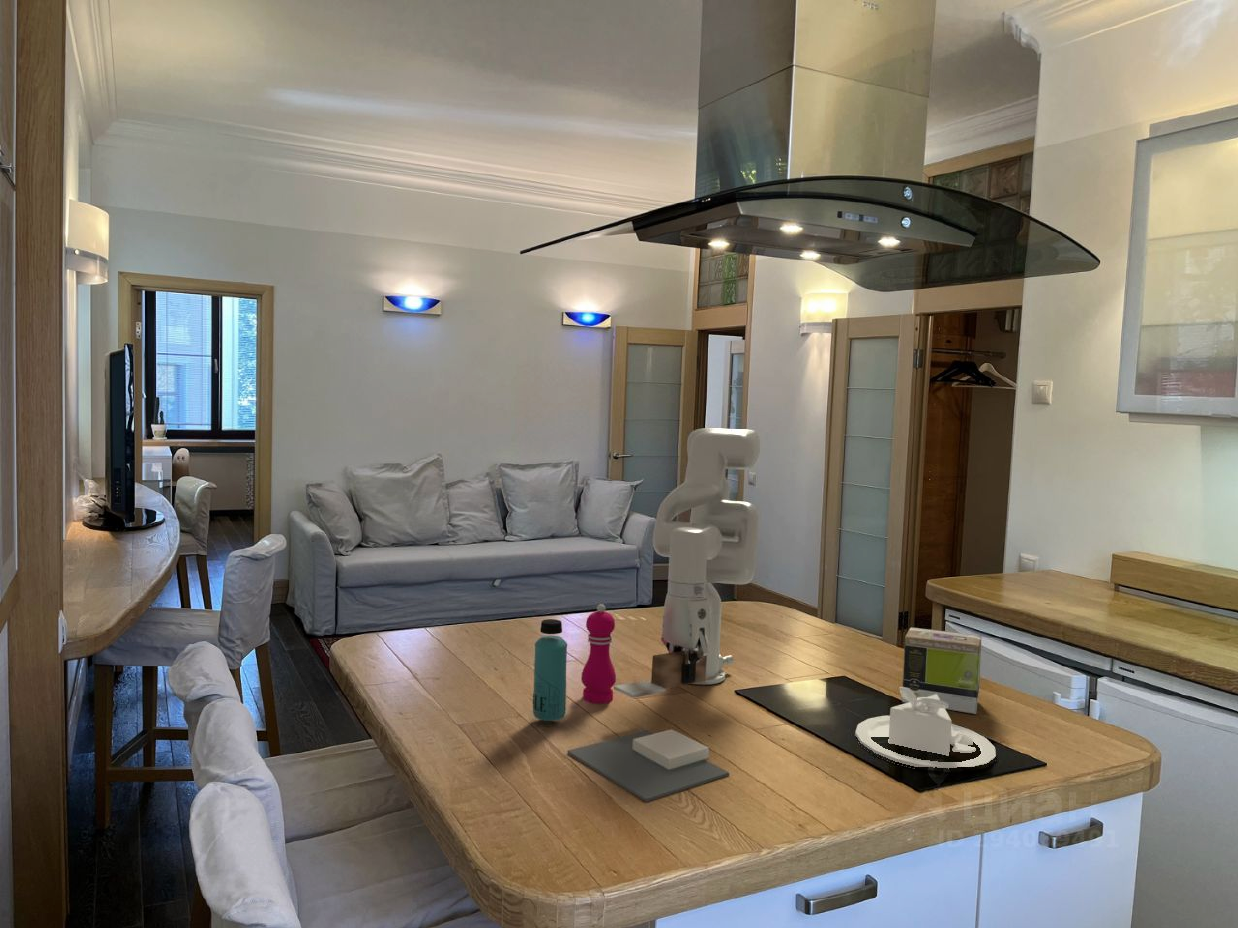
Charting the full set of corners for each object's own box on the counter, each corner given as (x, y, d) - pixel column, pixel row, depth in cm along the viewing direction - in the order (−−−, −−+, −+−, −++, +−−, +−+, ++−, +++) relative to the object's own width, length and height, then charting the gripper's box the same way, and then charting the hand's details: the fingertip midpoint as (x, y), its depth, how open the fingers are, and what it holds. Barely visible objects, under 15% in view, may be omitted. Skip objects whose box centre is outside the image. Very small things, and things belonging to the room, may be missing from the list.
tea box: (978, 701, 188) (983, 634, 187) (976, 716, 179) (981, 645, 178) (906, 689, 195) (910, 624, 194) (900, 703, 185) (904, 635, 184)
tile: (671, 729, 159) (632, 739, 154) (708, 747, 151) (669, 758, 146) (671, 739, 159) (632, 750, 154) (708, 758, 151) (668, 770, 146)
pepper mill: (611, 706, 177) (614, 609, 175) (576, 702, 178) (580, 606, 177) (618, 694, 184) (621, 601, 183) (585, 691, 185) (588, 599, 184)
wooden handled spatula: (690, 675, 180) (692, 646, 180) (710, 682, 175) (712, 653, 175) (613, 688, 168) (615, 658, 167) (632, 697, 163) (634, 666, 163)
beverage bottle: (570, 719, 169) (574, 618, 167) (557, 731, 163) (560, 626, 161) (540, 714, 171) (543, 614, 169) (525, 725, 165) (528, 622, 163)
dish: (983, 787, 146) (988, 722, 145) (837, 751, 159) (841, 690, 158) (1005, 741, 167) (1009, 683, 166) (875, 712, 180) (878, 659, 179)
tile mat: (647, 732, 164) (647, 729, 163) (729, 775, 146) (729, 772, 146) (567, 753, 153) (567, 750, 153) (645, 801, 135) (646, 798, 135)
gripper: (728, 595, 169) (724, 688, 170) (674, 580, 182) (670, 667, 183) (700, 599, 165) (695, 694, 166) (646, 583, 178) (642, 672, 179)
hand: (682, 679), depth 174 cm, fingers closed on wooden handled spatula, 2 cm apart
